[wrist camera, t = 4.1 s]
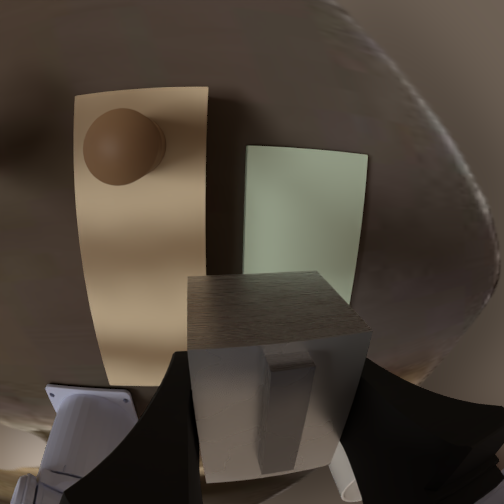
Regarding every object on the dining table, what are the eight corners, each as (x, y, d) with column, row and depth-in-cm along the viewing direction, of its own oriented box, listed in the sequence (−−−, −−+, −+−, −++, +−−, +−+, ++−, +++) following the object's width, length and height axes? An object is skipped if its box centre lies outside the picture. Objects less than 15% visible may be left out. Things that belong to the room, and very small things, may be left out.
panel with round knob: (207, 358, 23) (216, 428, 16) (116, 359, 21) (100, 427, 15) (205, 96, 17) (213, 68, 10) (91, 102, 16) (42, 83, 9)
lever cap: (299, 395, 13) (335, 476, 9) (198, 405, 12) (208, 496, 8) (316, 270, 11) (384, 344, 7) (187, 276, 10) (187, 367, 6)
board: (343, 313, 24) (346, 317, 23) (241, 322, 22) (242, 327, 22) (363, 154, 20) (367, 155, 19) (246, 145, 18) (247, 145, 18)
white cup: (289, 423, 27) (322, 507, 18) (330, 363, 25) (383, 450, 16) (351, 426, 29) (389, 494, 20) (391, 372, 27) (446, 440, 18)
